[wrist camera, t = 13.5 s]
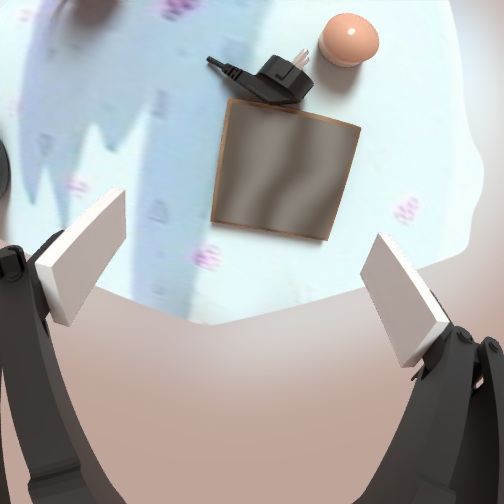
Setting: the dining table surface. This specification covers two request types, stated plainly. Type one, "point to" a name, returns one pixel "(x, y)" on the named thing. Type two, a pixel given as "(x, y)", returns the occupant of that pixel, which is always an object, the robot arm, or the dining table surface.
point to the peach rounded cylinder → (348, 40)
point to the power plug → (273, 79)
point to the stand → (282, 169)
